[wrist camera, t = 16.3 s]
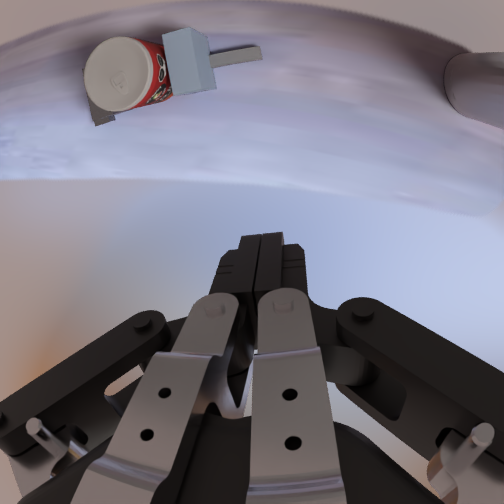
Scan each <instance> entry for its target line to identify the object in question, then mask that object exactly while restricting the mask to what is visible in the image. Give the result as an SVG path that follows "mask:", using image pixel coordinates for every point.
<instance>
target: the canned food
mask: <svg viewBox="0 0 504 504" xmlns="http://www.w3.org/2000/svg"><path fill="white" fill-rule="evenodd" d="M84 85H85V89H86V91H87V94H88V96H89V97H90V99H91V100H92V101H93V102H94V103H95V104H96V105H97V106H98V107H100V108H101V109H104V110H107V111H124V110H129V109H133V108H137V107H142V106H146V105H150V104H155V103H159V102H163V101H165V100H167V99H169V98H170V97H171V96H173V92H172V87H171V81H170V76H169V71H168V66H167V60H166V55H165V50H164V45H160V44H156V43H153V42H149V41H145V40H140V39H136V38H131V37H113V38H110V39H107V40H105V41H104V42H102V43H101V44H99V45H98V46H97V47H96V48H95V49H94V50H93V52H92V53H91V54H90V56H89V58H88V60H87V62H86V66H85V70H84Z"/></svg>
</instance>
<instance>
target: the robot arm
mask: <svg viewBox="0 0 504 504" xmlns="http://www.w3.org/2000/svg"><path fill="white" fill-rule="evenodd" d="M444 86H445V91H446V94H447V97H448V99H449V101H450V103H451V104H452V106H453V107H454V108H455V109H456V110H457V111H458V112H459V113H460V114H462V115H463V116H465V117H468V118H471V119H474V120H477V121H481V122H483V123H486V124H489V125H492V126H495V127H498V128H501V129H504V52H486V53H465V54H459V55H456V56H455V57H453V58H452V59H451V60H450V61H449V63H448V64H447V67H446V69H445V74H444ZM256 349H258V353H257V354H254V350H256ZM253 355H254V357H253ZM252 360H253V361H252ZM138 364H139V366H140V368H141V369H142V371H143V373H144V374H143V375H142V376H141V377H139V378H138V379H136V380H135V381H134V382H132V383H131V384H129V385H128V386H126V387H125V388H123V389H122V390H121V391H119V392H118V393H116V394H115V395H112V396H107V395H105V394H104V392H105V389H106V388H107V386H108V385H109V384H111V383H112V382H113V381H115V380H117V379H118V378H120V377H121V376H122V375H124V374H125V373H127V372H128V371H130V370H131V369H133V368H134V367H136V366H137V365H138ZM252 375H253V383H252V416H248V417H243V416H244V410H245V406H246V402H247V397H248V393H249V388H250V384H251V379H252ZM326 381H328V382H333V383H335V384H336V387H337V388H338V390H339V391H340V392H341V393H342V394H344V395H345V396H346V397H347V398H348V399H350V400H351V401H352V402H353V403H355V404H356V405H357V406H358V407H360V408H361V409H362V410H363V411H364V412H366V413H367V414H368V415H369V416H371V417H372V418H373V419H375V420H376V421H377V422H378V423H380V424H381V425H382V426H383V427H385V428H386V429H387V430H389V431H390V432H391V433H393V434H394V435H395V436H396V437H398V438H399V439H400V440H401V441H403V442H404V443H405V444H407V445H408V446H409V447H411V448H412V449H413V450H415V451H416V452H417V453H419V454H420V455H421V456H423V457H424V458H425V459H427V460H428V461H429V463H428V466H427V478H428V481H429V483H430V485H431V486H432V487H433V488H434V489H435V490H436V491H437V493H438V494H439V496H440V499H441V500H440V499H439V498H438V497H437V496H435V495H434V494H432V492H430V491H429V490H428V489H427V488H425V487H424V486H423V485H422V484H421V483H419V482H418V481H417V480H416V479H415V478H413V477H412V476H411V475H410V474H409V473H408V472H406V471H405V470H404V469H403V468H402V467H401V466H399V465H398V464H397V463H396V462H395V461H394V460H392V459H391V458H390V457H389V456H388V455H387V454H385V453H384V452H383V451H382V450H381V449H380V448H379V447H378V446H377V445H375V444H374V443H373V442H372V441H371V440H370V439H369V438H367V437H366V436H365V435H363V434H362V433H360V432H359V431H357V430H355V429H353V428H351V427H349V426H347V425H344V424H341V423H337V422H334V421H333V419H332V413H331V406H330V400H329V394H328V388H327V383H326ZM0 449H1V450H3V452H4V453H5V454H6V455H7V456H8V457H9V461H10V464H11V467H12V470H13V473H14V476H15V479H16V481H17V484H18V487H19V490H20V492H21V495H22V497H23V498H22V499H21V500H20V501H19V502H18V503H17V504H504V373H503V372H502V371H500V370H498V369H497V368H495V367H493V366H491V365H490V364H488V363H486V362H485V361H483V360H481V359H479V358H478V357H476V356H474V355H473V354H471V353H469V352H468V351H466V350H464V349H462V348H460V347H459V346H457V345H455V344H454V343H452V342H450V341H449V340H447V339H445V338H443V337H441V336H440V335H438V334H436V333H435V332H433V331H431V330H429V329H427V328H426V327H424V326H422V325H421V324H419V323H417V322H415V321H414V320H412V319H410V318H408V317H406V316H405V315H403V314H401V313H399V312H398V311H396V310H394V309H392V308H390V307H389V306H387V305H385V304H383V303H382V302H380V301H378V300H375V299H372V298H367V297H359V298H353V299H350V300H347V301H345V302H344V303H342V304H341V305H340V307H339V308H338V310H334V309H328V308H324V307H321V306H319V305H317V304H315V303H314V302H313V301H311V299H310V298H309V296H308V290H307V277H306V265H305V254H304V250H303V249H302V248H301V246H299V244H288V245H284V238H283V232H276V233H265V234H263V235H262V234H257V235H246V236H242V237H241V240H240V243H239V247H238V249H236V250H229V251H228V252H227V253H226V254H224V255H223V256H222V257H221V259H220V262H219V265H218V268H217V271H216V275H215V277H214V280H213V283H212V286H211V289H210V292H209V295H207V296H204V297H202V298H201V299H199V300H198V301H197V302H196V303H195V304H194V305H193V307H192V309H191V311H190V313H189V315H188V316H187V317H184V318H180V319H177V320H173V321H169V322H166V319H165V317H164V315H163V314H162V313H160V312H158V311H154V310H148V311H143V312H140V313H137V314H135V315H134V316H132V317H130V318H129V319H127V320H126V321H124V322H123V323H121V324H119V325H118V326H116V327H115V328H113V329H112V330H110V331H108V332H107V333H105V334H104V335H102V336H101V337H100V338H98V339H96V340H95V341H93V342H91V343H90V344H88V345H87V346H85V347H84V348H82V349H81V350H79V351H78V352H76V353H75V354H73V355H71V356H70V357H68V358H67V359H65V360H64V361H62V362H61V363H59V364H57V365H56V366H54V367H53V368H51V369H50V370H49V371H47V372H45V373H44V374H42V375H41V376H39V377H38V378H36V379H35V380H33V381H31V382H30V383H28V384H27V385H25V386H24V387H22V388H21V389H19V390H18V391H16V392H15V393H13V394H12V395H10V396H9V397H7V398H6V399H5V400H3V401H1V402H0Z"/></svg>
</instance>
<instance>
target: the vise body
mask: <svg viewBox="0 0 504 504" xmlns="http://www.w3.org/2000/svg"><path fill="white" fill-rule="evenodd" d="M84 70H85V68H84V69H82V71H83V76H84ZM86 92H87V91H86ZM87 97H88V101H89V106H90V111H91V115H92V119H93V121H94V123H95V126H98V125H101V124H104V123H107V122H110V121H113V120H115V117H114V115H116V114H119V113H122V112H126V111H129V110H132V109H129V110H124V111H107V110H104V109H101V108H100V107H98V106H97V105H96V104H95V103H94V102H93V101H92V100H91V99H90V97H89V96H88V94H87Z"/></svg>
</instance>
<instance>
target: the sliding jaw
mask: <svg viewBox="0 0 504 504" xmlns="http://www.w3.org/2000/svg"><path fill="white" fill-rule="evenodd" d="M162 38H163V44H164V50H165V55H166V60H167V66H168V71H169V76H170V81H171V87H172V92H173V96H178V95H185V94H193V93H197V92H202V91H207V90H212V89H217V88H216V82H215V77H214V71H213V68H216V67H221V66H226V65H232V64H237V63H243V62H249V61H256V60H262V55H261V49H260V46H258V47H251V48H245V49H239V50H233V51H228V52H223V53H218V54H213V55H210V50H209V44H208V39H207V36H205V35H203V34H202V33H200V32H198V31H196V30H195V29H193V28H191V27H188V28H184V29H180V30H177V31H173V32H170V33H166V34H163V35H162Z"/></svg>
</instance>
